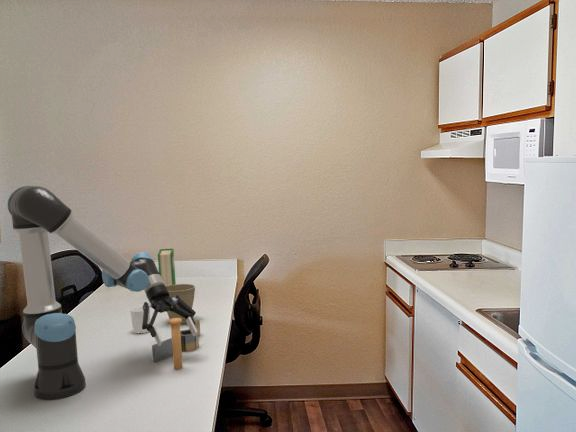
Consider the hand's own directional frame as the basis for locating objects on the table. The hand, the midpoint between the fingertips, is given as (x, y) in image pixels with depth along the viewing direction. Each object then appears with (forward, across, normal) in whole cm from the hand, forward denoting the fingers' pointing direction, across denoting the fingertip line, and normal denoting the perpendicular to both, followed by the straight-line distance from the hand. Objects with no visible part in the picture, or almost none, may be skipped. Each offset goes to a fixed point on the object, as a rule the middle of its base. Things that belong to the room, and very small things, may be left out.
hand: (178, 338), depth 187 cm
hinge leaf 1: (-2, -5, -16) cm, 17 cm away
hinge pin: (+8, +1, -6) cm, 10 cm away
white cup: (-26, -8, -41) cm, 49 cm away
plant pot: (-26, -27, -41) cm, 55 cm away
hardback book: (-63, -49, -79) cm, 112 cm away
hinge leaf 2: (-6, -16, -20) cm, 26 cm away
